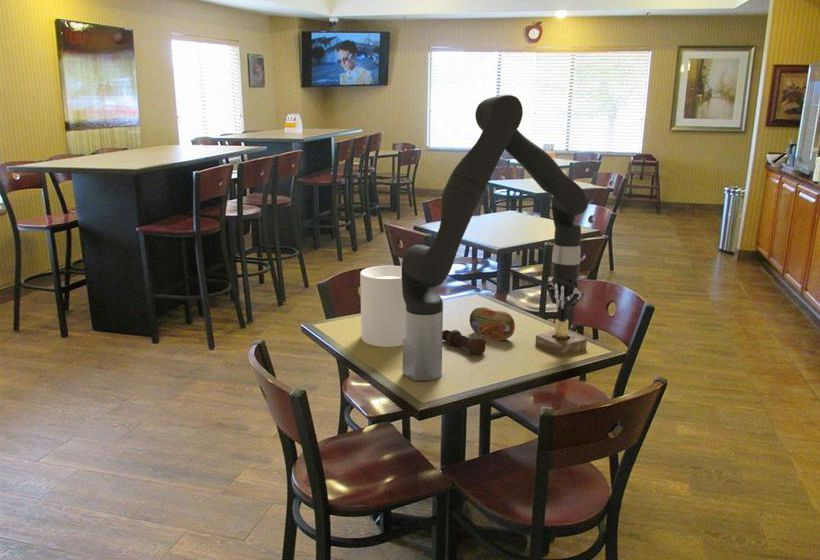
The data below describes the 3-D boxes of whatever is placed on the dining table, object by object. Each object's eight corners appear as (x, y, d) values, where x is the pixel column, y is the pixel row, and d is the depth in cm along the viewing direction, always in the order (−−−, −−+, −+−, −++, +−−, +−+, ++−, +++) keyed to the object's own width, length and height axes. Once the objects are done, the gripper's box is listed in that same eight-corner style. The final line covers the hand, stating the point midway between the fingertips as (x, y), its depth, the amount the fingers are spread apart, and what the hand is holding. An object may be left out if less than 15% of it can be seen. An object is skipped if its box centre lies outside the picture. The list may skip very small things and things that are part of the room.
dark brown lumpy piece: (446, 346, 194) (481, 360, 182) (434, 341, 190) (469, 354, 179) (453, 328, 194) (489, 340, 182) (442, 322, 191) (477, 334, 179)
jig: (560, 355, 181) (560, 345, 180) (535, 344, 189) (535, 335, 188) (586, 349, 186) (586, 339, 185) (561, 338, 194) (561, 329, 193)
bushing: (560, 350, 185) (561, 322, 183) (551, 346, 188) (552, 319, 186) (569, 347, 187) (571, 320, 185) (560, 344, 190) (562, 317, 188)
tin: (468, 331, 200) (469, 305, 198) (474, 329, 203) (475, 303, 200) (509, 343, 190) (510, 316, 188) (515, 341, 193) (517, 313, 191)
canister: (369, 349, 185) (368, 281, 180) (355, 331, 200) (354, 267, 195) (422, 343, 190) (423, 276, 185) (405, 326, 205) (405, 264, 200)
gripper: (539, 257, 185) (536, 316, 189) (573, 266, 174) (569, 329, 178) (559, 254, 188) (555, 312, 193) (593, 263, 178) (589, 324, 182)
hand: (562, 320), depth 186 cm, fingers closed
